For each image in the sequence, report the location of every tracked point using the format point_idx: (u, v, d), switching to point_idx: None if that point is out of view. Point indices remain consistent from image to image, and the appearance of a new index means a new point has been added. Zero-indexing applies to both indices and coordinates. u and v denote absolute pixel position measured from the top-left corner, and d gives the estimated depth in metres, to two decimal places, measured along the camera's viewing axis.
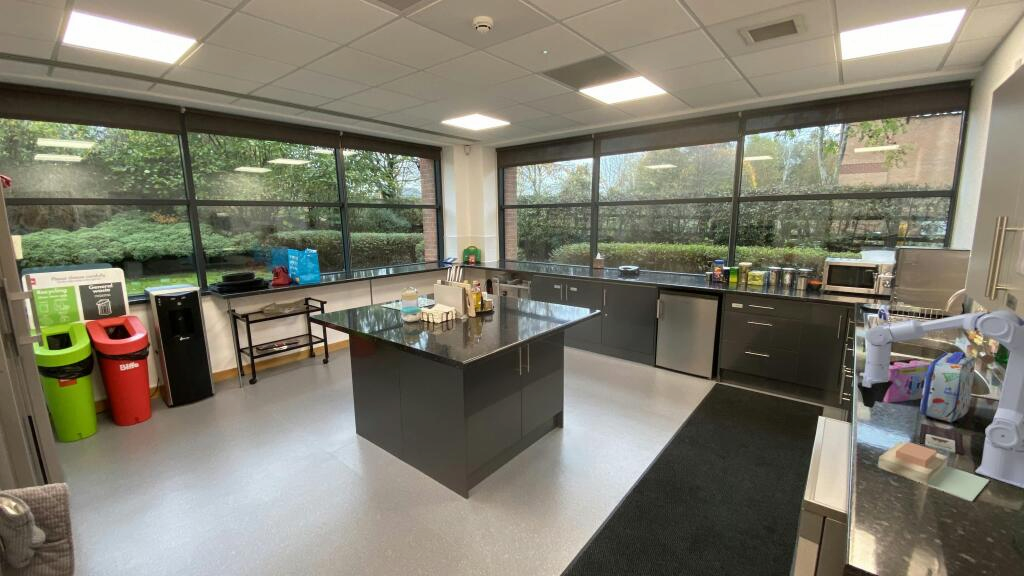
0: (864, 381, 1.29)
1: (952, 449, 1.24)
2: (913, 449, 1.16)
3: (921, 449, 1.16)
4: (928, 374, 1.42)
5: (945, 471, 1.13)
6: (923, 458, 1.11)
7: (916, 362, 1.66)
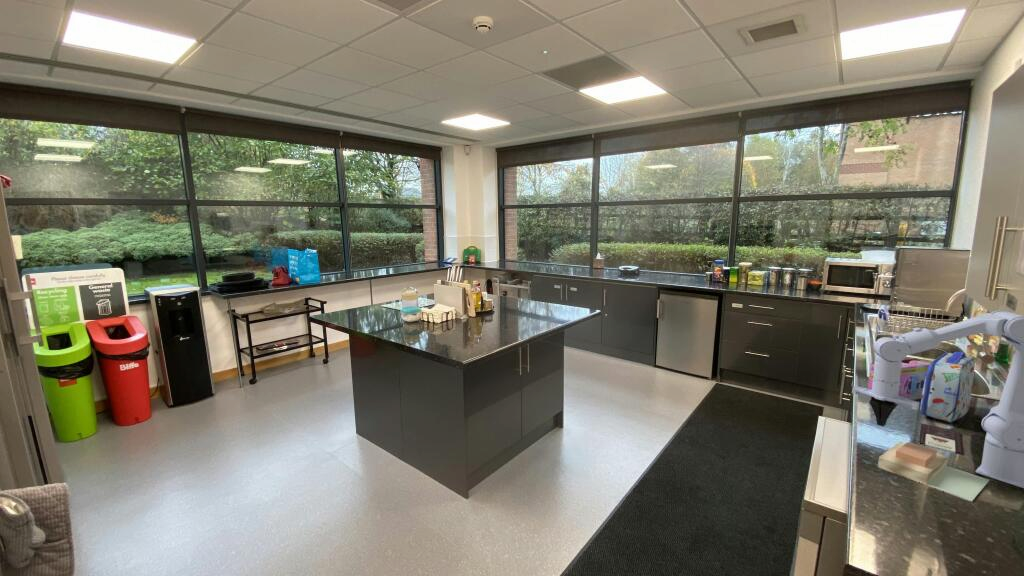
0: (917, 404, 1.14)
1: (952, 449, 1.24)
2: (913, 449, 1.16)
3: (921, 449, 1.16)
4: (928, 374, 1.42)
5: (945, 471, 1.13)
6: (923, 458, 1.11)
7: (916, 362, 1.66)
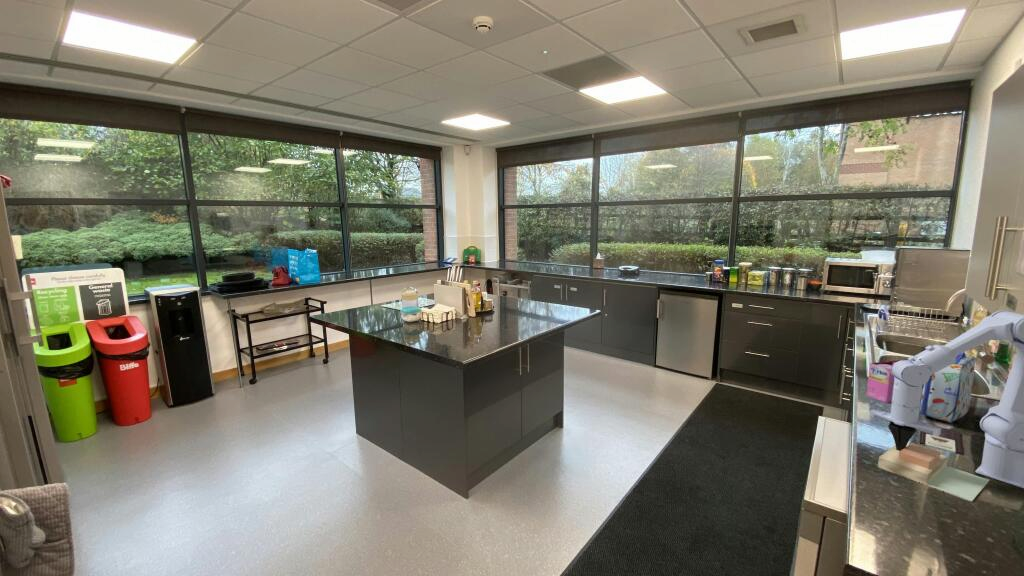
0: (939, 430, 1.10)
1: (952, 449, 1.24)
2: (917, 450, 1.15)
3: (924, 450, 1.15)
4: None
5: (945, 471, 1.13)
6: (927, 459, 1.11)
7: None
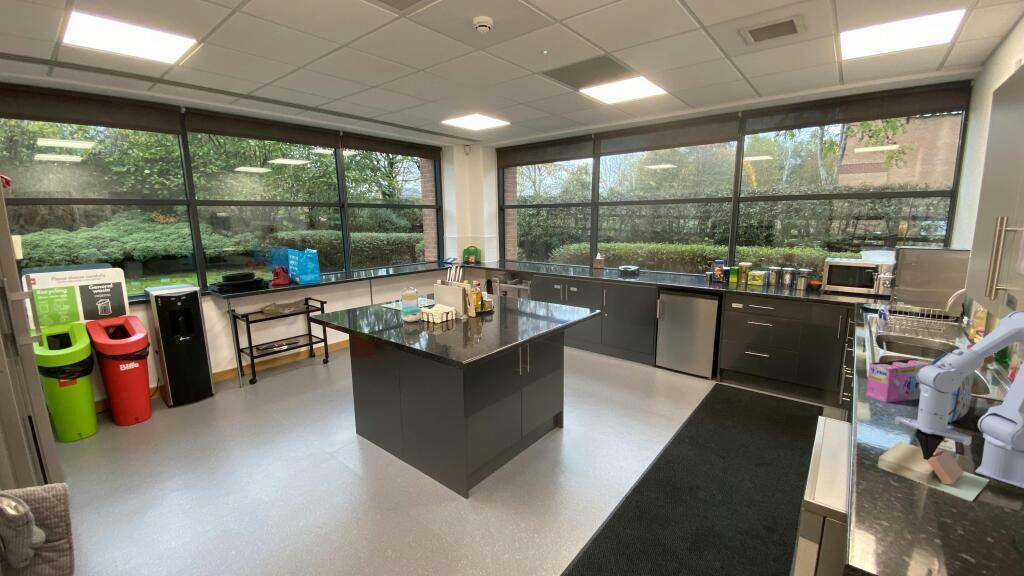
0: (970, 439, 1.06)
1: (952, 449, 1.24)
2: (948, 462, 1.10)
3: (953, 464, 1.10)
4: None
5: None
6: (952, 479, 1.07)
7: (914, 362, 1.66)
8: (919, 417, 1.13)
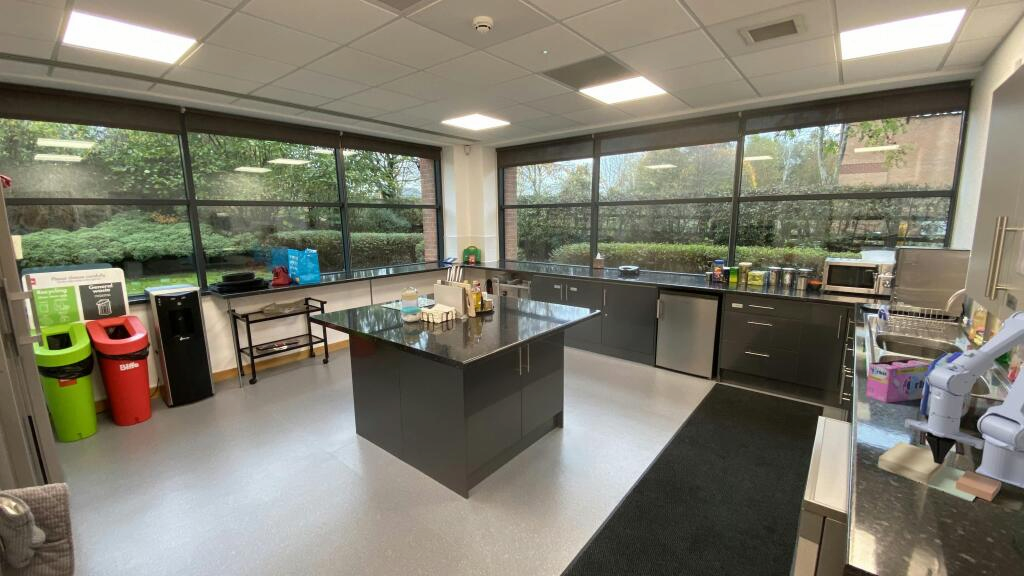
0: (982, 443, 1.04)
1: (952, 449, 1.24)
2: None
3: None
4: (928, 374, 1.42)
5: (945, 471, 1.13)
6: None
7: (914, 362, 1.66)
8: (930, 420, 1.11)
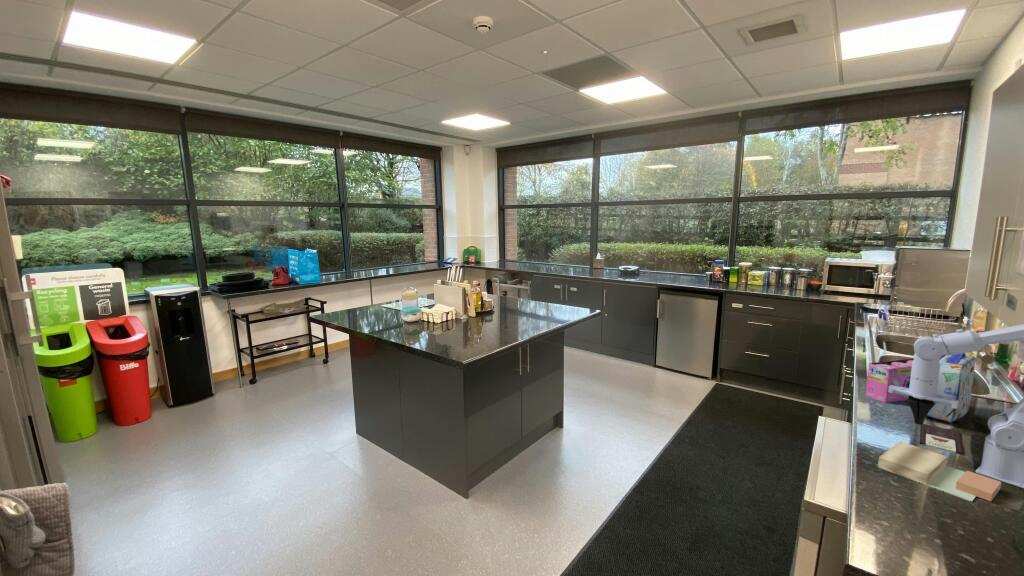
0: (957, 403, 1.14)
1: (953, 449, 1.24)
2: None
3: None
4: None
5: (945, 471, 1.13)
6: None
7: None
8: (911, 384, 1.21)
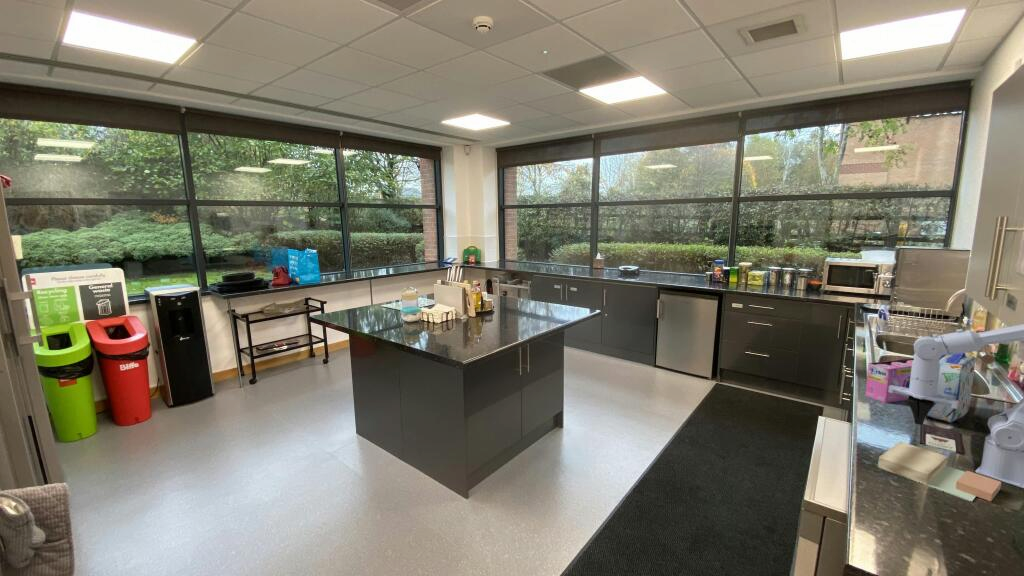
0: (957, 403, 1.14)
1: (953, 449, 1.24)
2: None
3: None
4: None
5: (945, 471, 1.13)
6: None
7: None
8: (911, 384, 1.21)
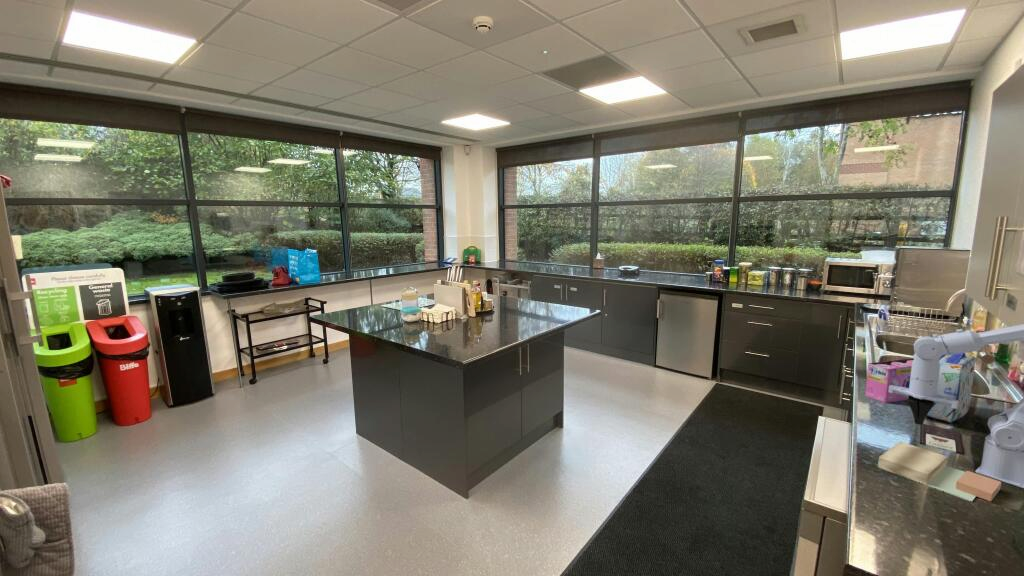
0: (957, 403, 1.14)
1: (953, 449, 1.24)
2: None
3: None
4: None
5: (945, 471, 1.13)
6: None
7: None
8: (911, 384, 1.21)
